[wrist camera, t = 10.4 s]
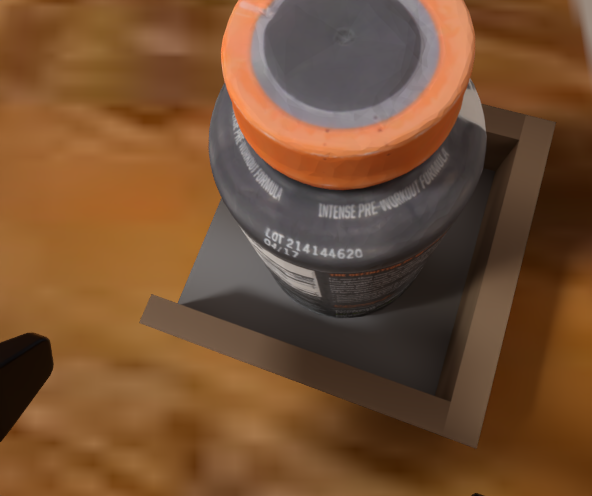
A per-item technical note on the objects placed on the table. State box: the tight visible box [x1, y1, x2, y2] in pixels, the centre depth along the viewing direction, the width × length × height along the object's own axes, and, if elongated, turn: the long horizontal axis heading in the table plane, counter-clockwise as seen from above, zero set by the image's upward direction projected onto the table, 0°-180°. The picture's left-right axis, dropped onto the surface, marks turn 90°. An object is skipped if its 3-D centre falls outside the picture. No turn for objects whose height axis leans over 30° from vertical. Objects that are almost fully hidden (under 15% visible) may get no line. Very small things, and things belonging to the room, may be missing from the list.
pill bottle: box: [209, 0, 487, 318], centre depth 12 cm, size 6×6×11 cm
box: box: [139, 104, 556, 449], centre depth 17 cm, size 11×11×3 cm
